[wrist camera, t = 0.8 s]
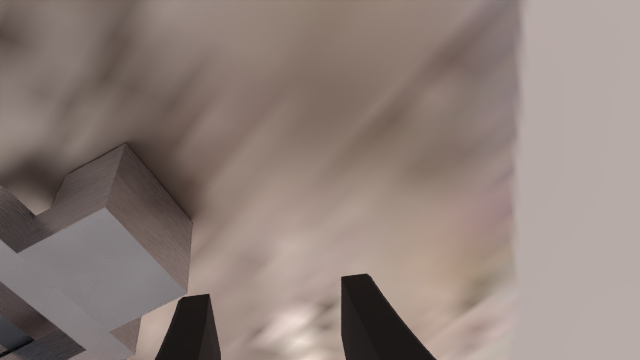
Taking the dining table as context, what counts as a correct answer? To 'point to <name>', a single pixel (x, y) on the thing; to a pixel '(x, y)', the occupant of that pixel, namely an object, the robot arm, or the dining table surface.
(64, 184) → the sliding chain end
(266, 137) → the dining table surface
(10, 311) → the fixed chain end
